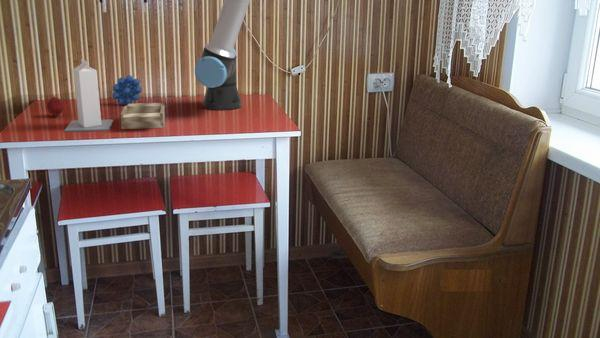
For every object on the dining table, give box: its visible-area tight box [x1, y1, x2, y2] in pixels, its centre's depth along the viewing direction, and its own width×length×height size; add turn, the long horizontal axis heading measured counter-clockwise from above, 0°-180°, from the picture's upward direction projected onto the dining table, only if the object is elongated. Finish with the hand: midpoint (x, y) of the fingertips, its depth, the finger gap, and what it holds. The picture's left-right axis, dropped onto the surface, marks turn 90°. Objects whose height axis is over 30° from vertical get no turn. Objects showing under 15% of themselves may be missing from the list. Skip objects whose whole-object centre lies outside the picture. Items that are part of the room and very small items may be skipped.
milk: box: [73, 59, 102, 127], centre depth 205 cm, size 6×6×22 cm
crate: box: [120, 102, 166, 130], centre depth 213 cm, size 14×22×5 cm, turn 10°
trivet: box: [64, 119, 114, 133], centre depth 208 cm, size 14×14×1 cm
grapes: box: [112, 75, 143, 106], centre depth 241 cm, size 12×7×12 cm, turn 97°
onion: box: [46, 94, 65, 118], centre depth 221 cm, size 6×6×8 cm
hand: (124, 12), depth 222 cm, fingers open, 13 cm apart
